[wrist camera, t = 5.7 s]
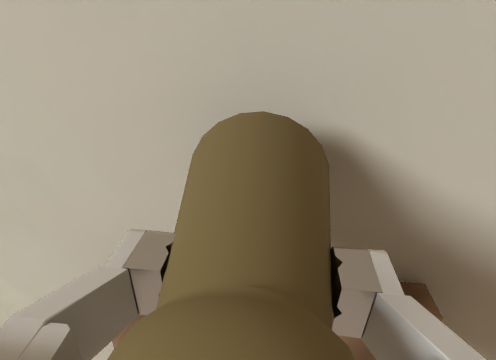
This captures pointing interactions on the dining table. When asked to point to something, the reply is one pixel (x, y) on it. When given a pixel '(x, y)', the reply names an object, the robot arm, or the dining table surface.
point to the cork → (247, 252)
